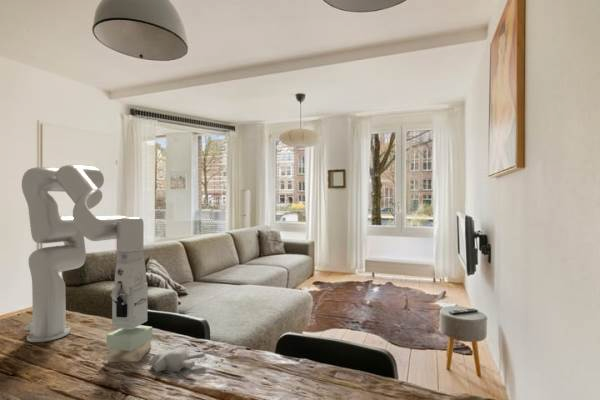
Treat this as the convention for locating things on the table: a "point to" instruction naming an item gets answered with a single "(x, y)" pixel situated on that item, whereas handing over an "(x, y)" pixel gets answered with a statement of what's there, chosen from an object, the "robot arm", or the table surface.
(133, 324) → the supplement box
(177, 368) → the bunny figurine
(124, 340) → the block top
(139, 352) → the block bottom
